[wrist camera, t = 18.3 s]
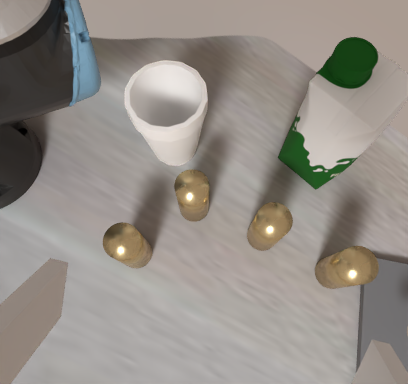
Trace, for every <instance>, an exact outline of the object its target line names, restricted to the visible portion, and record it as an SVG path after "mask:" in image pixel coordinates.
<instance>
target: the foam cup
mask: <svg viewBox="0 0 408 384" xmlns="http://www.w3.org/2000/svg"><path fill="white" fill-rule="evenodd" d="M125 108H126V110H127V113H128V115H129V118H130V119H131V121H132V123H133V124H134V126H135V128H136V129H137V131H139V132H140V133H141V134H142V135H143V137H144V138H145V140H146V141H147V143H148V144H149V146H150V147H151V148H152V150H153V151H154V153H155V154H156V156H157V157H158V159H159V160H160V161H162V162H164V163H165V164H167V165H173V166H178V165H182V164H185V163H187V162H188V161H189V160H190V159H192V158H193V156H194V154H195V152H196V149H197V146H198V142H199V137H200V133H201V129H202V125H203V121H204V118H205V116H206V113H207V111H208V98H207V89H206V83H205V81H204V80H203V79H202V77H201V76H200V74H199V73H198V72H197V70H195V69H193V68H192V67H190V66H188V65H186V64H184V63H182V62H177V61H168V60H162V61H158V62H154V63H151V64H147V65H145V66H144V67H143V68H141V69H140V70H139V71H137V72H136V73H135V74H133V75H132V77H131V79H130V80H129V82H128V84H127V86H126V88H125Z"/></svg>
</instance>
